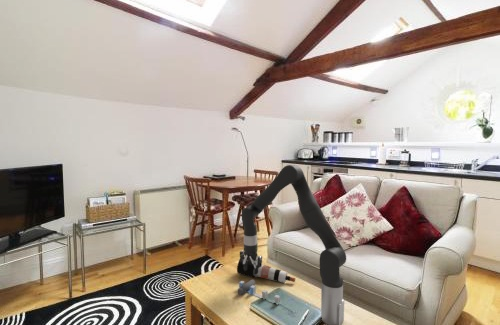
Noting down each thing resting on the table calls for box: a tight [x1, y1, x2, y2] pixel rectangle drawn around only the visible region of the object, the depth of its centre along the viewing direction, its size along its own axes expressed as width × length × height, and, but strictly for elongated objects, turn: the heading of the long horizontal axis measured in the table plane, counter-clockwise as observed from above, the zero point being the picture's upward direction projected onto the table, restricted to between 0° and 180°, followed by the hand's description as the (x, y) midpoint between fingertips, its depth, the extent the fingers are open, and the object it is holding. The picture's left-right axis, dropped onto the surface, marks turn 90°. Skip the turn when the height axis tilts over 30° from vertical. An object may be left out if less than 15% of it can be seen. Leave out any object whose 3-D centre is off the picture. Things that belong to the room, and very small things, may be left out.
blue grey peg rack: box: [238, 280, 281, 303], centre depth 141 cm, size 24×2×4 cm, turn 52°
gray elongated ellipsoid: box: [237, 279, 256, 296], centre depth 146 cm, size 14×4×4 cm, turn 142°
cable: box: [236, 256, 296, 284], centre depth 158 cm, size 10×34×10 cm, turn 66°
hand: (250, 272), depth 147 cm, fingers open, 6 cm apart
